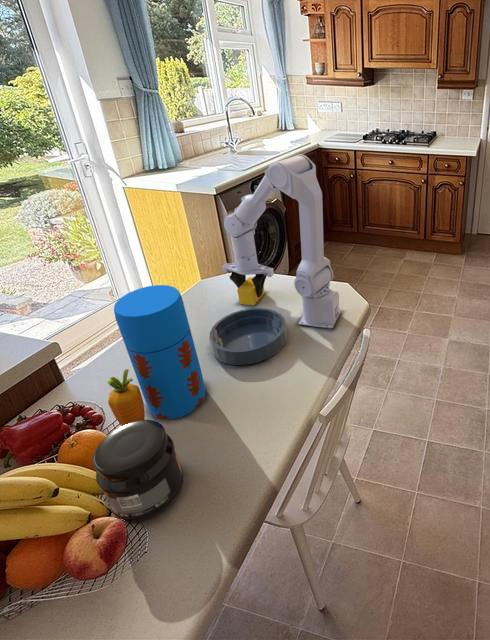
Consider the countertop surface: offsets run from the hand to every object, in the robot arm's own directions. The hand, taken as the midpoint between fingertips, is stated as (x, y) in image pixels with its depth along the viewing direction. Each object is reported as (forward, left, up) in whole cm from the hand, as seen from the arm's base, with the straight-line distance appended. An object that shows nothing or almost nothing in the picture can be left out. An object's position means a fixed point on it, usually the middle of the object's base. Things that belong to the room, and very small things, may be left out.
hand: (252, 294), depth 119 cm
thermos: (-3, +39, -1) cm, 39 cm away
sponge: (0, 0, -1) cm, 1 cm away
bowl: (-9, +19, -1) cm, 21 cm away
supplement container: (-11, +58, -1) cm, 59 cm away
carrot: (-1, +48, -1) cm, 48 cm away
